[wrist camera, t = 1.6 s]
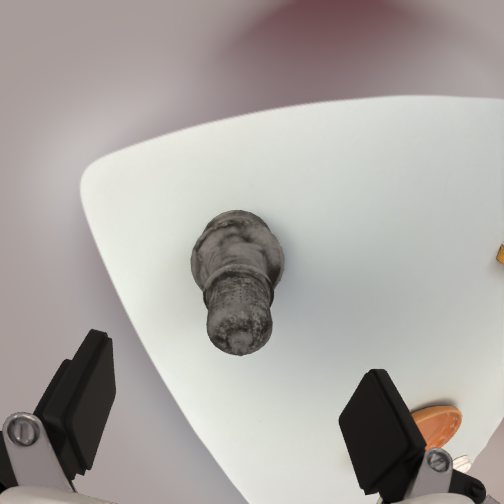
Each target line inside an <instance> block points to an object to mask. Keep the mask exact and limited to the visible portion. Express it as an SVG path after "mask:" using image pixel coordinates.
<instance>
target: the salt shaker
mask: <svg viewBox="0 0 504 504" xmlns="http://www.w3.org/2000/svg"><path fill="white" fill-rule="evenodd" d="M191 271H192V274H193V277H194V279H195V282H196V283H197V285H198V286H199V288H200V289H201V290H202V291H203V300H204V303H205V305H206V308H207V309H208V316H207V324H206V325H207V333H208V336H209V338H210V341H211V342H212V343H213V344H214V345H215V347H217V348H218V349H220V350H221V351H223V352H226V353H228V354H232V355H238V356H243V355H247V354H251V353H253V352H255V351H257V350H259V349H260V348H262V347H263V346H264V345H265V344H266V343H267V342H268V340H269V339H270V336H271V333H272V324H273V322H272V317H271V312H270V307H271V305H272V302H273V299H274V289H275V287H276V286H277V284H278V283H279V281H280V280H281V277H282V274H283V271H284V255H283V251H282V247H281V245H280V244H279V242H278V240H277V239H276V237H275V236H274V235H273V234H272V233H271V231H270V230H269V228H268V226H267V225H266V223H265V222H264V221H263V220H262V219H261V218H259V217H258V216H256V215H254V214H252V213H250V212H246V211H242V210H234V211H228V212H225V213H222V214H220V215H218V216H217V217H215V218H213V219H212V220H211V222H210V223H209V224H208V225H207V226H206V228H205V230H204V232H203V234H202V235H201V236H200V237H199V238H198V240H197V242H196V244H195V246H194V248H193V251H192V256H191Z"/></svg>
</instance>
